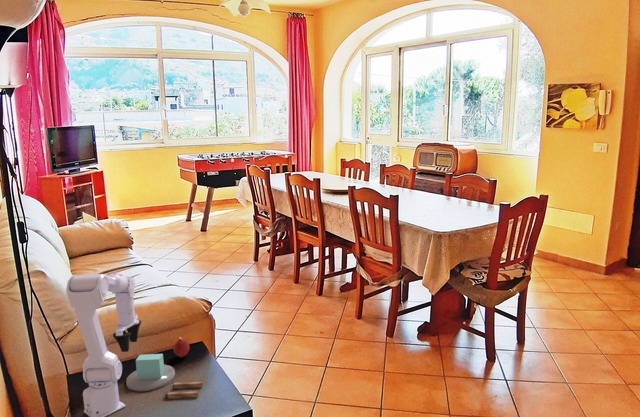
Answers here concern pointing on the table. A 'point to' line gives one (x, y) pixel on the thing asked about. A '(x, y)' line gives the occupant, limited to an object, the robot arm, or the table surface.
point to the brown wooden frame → (183, 394)
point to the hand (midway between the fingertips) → (129, 346)
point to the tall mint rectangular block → (150, 366)
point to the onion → (181, 347)
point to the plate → (150, 380)
